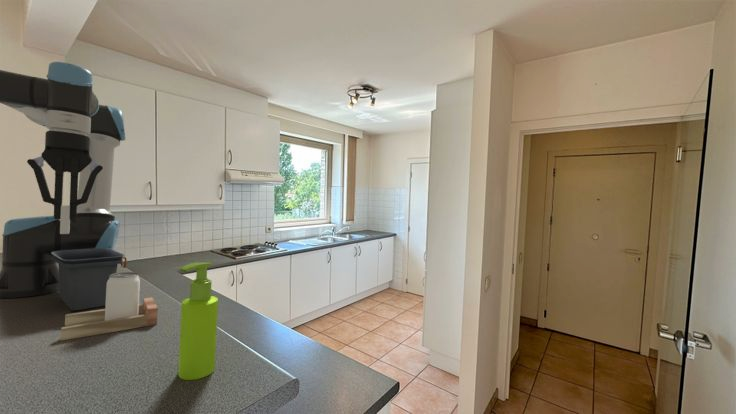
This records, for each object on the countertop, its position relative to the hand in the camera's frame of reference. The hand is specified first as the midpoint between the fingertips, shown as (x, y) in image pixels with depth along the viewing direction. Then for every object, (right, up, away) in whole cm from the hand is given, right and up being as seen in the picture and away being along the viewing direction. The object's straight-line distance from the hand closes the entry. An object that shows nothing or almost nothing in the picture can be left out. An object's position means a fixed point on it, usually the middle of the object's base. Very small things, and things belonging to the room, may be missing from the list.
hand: (64, 233), depth 74 cm
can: (+11, -23, +3) cm, 25 cm away
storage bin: (-9, -22, +17) cm, 29 cm away
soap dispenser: (+40, -24, -17) cm, 50 cm away
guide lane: (+9, -22, +2) cm, 24 cm away
